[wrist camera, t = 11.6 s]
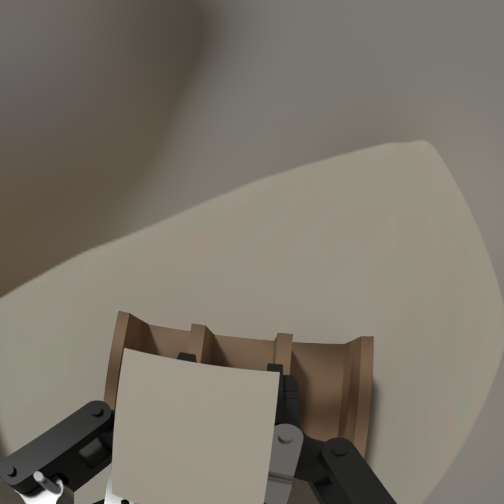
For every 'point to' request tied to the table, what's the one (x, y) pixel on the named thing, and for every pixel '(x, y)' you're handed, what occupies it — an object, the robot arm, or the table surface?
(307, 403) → the drying rack
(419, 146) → the table surface
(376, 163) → the table surface
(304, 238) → the table surface
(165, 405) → the white rectangular block
